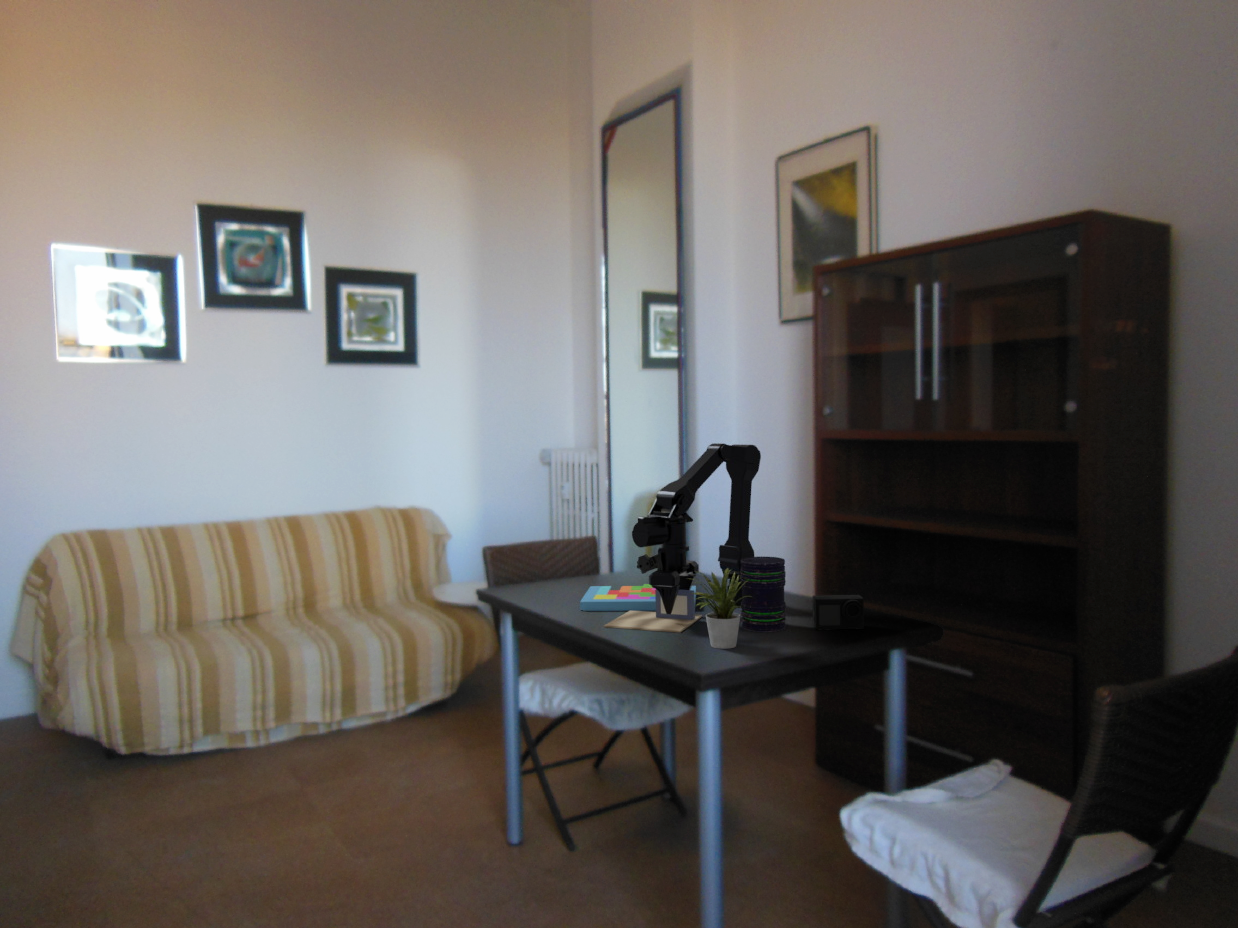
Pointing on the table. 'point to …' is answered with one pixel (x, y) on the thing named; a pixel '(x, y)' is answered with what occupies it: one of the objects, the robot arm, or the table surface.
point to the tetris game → (620, 598)
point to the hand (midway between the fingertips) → (675, 609)
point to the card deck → (677, 606)
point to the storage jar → (763, 594)
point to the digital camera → (838, 611)
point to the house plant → (721, 611)
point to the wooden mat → (650, 622)
